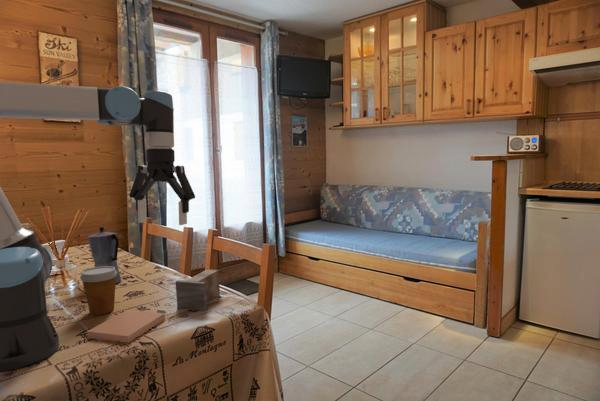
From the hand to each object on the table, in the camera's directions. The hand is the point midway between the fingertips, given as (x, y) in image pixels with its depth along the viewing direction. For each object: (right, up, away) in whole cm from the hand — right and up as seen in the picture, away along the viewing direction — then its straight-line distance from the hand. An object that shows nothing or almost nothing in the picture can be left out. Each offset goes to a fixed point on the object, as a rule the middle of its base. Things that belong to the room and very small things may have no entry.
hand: (162, 223), depth 115 cm
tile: (-3, -25, -5) cm, 25 cm away
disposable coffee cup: (-18, -25, +1) cm, 31 cm away
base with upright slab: (-57, -22, +43) cm, 75 cm away
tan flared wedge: (+10, -24, +6) cm, 27 cm away
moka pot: (-28, -23, +27) cm, 45 cm away
